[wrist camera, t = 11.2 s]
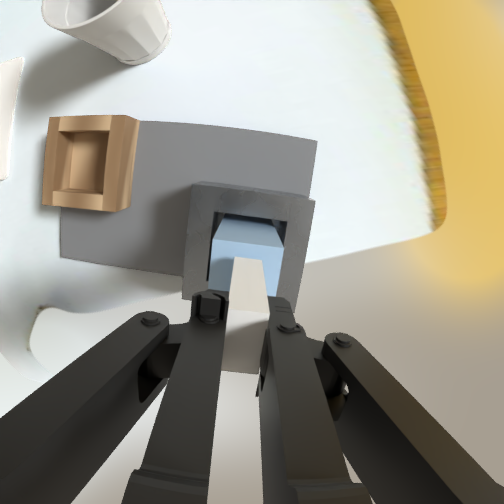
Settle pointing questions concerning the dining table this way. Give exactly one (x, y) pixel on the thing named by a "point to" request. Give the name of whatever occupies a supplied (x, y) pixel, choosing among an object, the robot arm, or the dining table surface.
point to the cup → (113, 26)
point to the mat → (181, 190)
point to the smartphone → (8, 108)
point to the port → (254, 205)
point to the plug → (245, 250)
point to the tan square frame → (90, 162)
